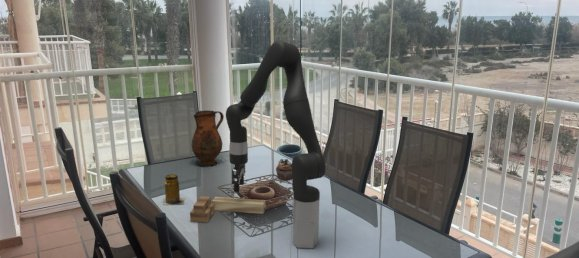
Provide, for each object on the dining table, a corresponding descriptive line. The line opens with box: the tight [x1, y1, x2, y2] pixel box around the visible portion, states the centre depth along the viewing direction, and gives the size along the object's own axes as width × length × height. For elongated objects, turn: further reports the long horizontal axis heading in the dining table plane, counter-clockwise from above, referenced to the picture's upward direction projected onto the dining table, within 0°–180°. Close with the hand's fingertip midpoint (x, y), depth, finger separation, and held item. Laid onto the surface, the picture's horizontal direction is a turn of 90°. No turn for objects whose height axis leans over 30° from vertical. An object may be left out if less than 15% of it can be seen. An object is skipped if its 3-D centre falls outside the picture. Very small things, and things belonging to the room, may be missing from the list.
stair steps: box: [189, 195, 215, 224], centre depth 174 cm, size 10×7×7 cm
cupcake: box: [275, 158, 292, 182], centre depth 220 cm, size 10×10×10 cm
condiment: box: [163, 173, 186, 206], centre depth 189 cm, size 7×8×12 cm
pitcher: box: [190, 110, 224, 168], centre depth 241 cm, size 17×21×30 cm
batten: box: [211, 196, 266, 215], centre depth 182 cm, size 4×22×4 cm, turn 82°
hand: (239, 188), depth 180 cm, fingers open, 8 cm apart
